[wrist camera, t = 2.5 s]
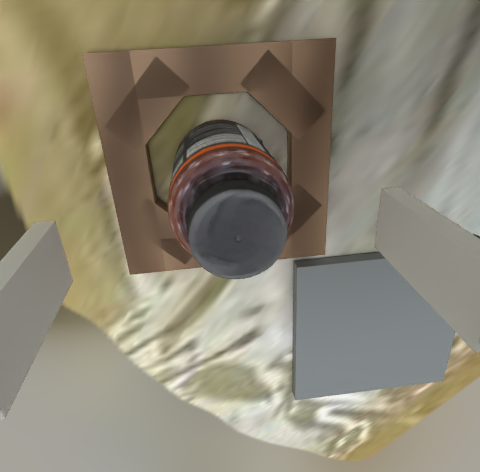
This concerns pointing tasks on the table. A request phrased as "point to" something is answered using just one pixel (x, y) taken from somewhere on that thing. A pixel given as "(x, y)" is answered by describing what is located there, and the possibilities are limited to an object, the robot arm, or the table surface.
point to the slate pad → (362, 328)
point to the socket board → (199, 83)
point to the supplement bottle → (229, 200)
